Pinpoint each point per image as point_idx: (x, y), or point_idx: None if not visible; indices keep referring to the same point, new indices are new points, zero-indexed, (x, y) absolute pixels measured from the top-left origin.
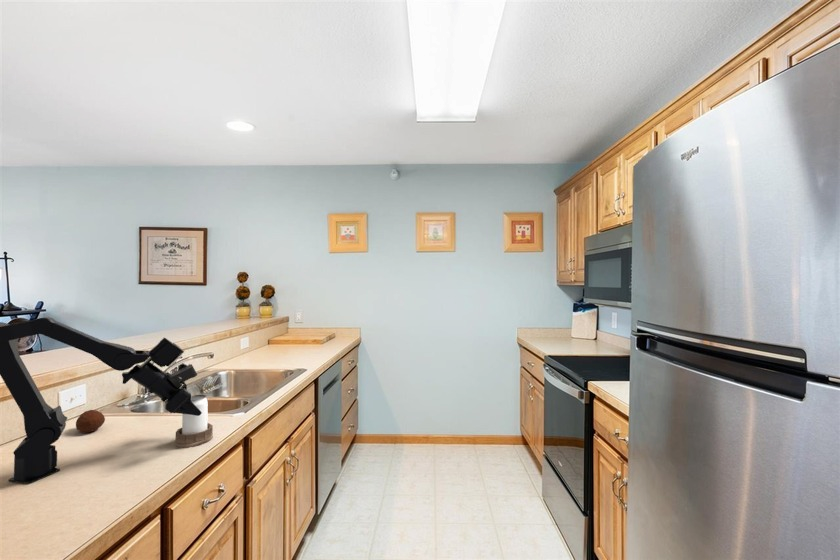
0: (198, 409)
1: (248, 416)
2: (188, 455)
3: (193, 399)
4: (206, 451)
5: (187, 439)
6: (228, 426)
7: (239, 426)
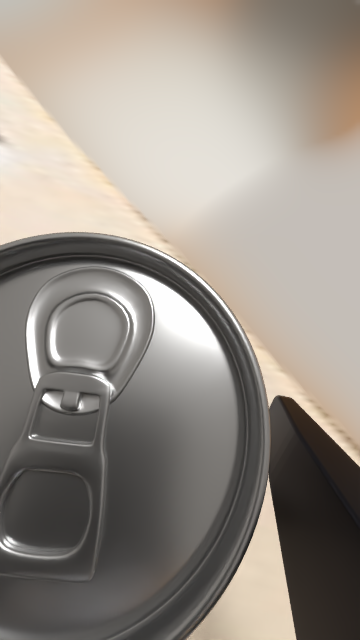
0: (338, 445)
1: (55, 152)
2: None
3: (105, 469)
4: (311, 405)
5: None
6: None
7: (137, 216)
